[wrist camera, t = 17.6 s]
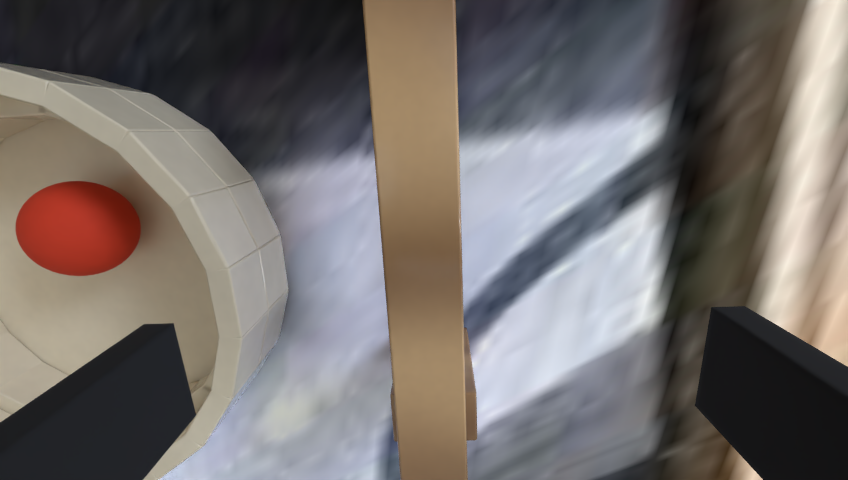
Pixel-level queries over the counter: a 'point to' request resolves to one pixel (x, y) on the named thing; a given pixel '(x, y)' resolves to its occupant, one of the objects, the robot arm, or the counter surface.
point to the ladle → (421, 231)
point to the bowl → (153, 256)
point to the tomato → (78, 228)
